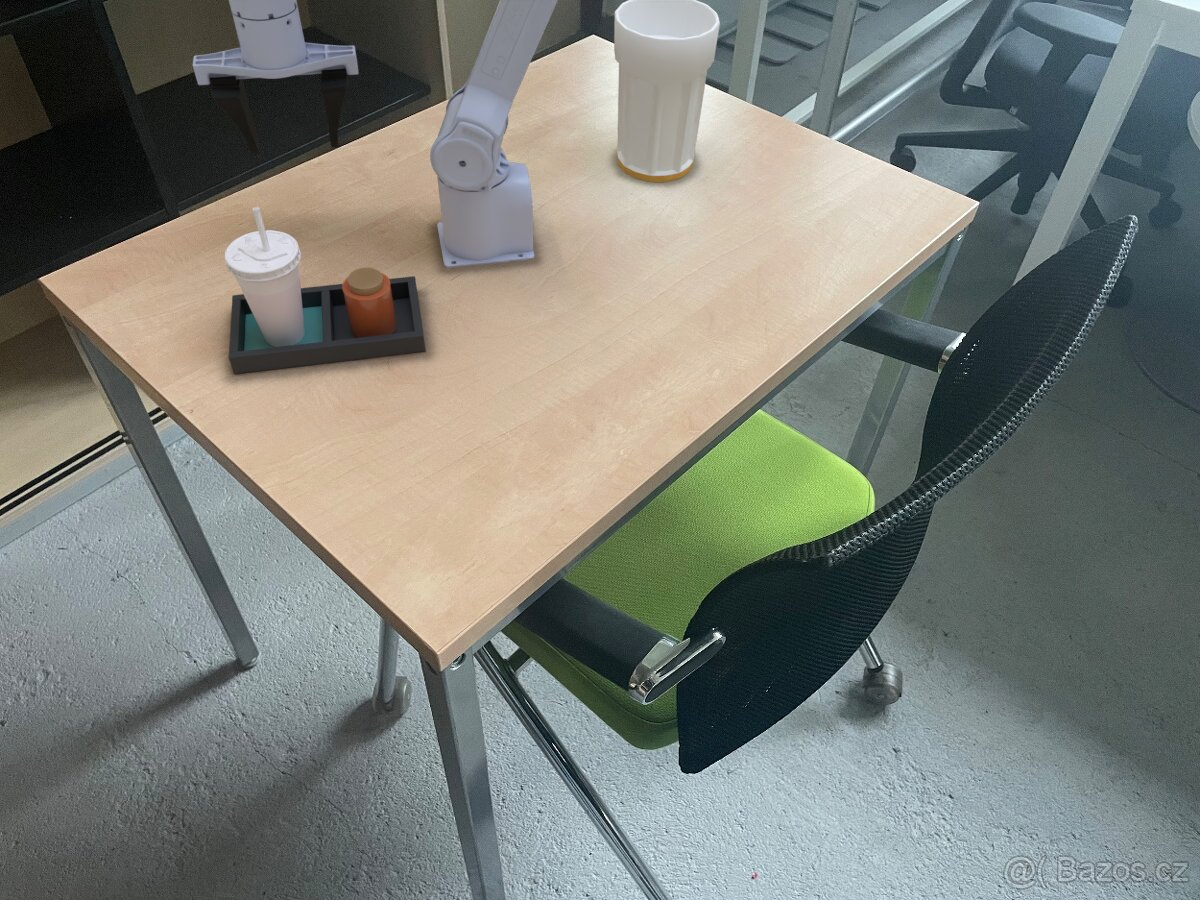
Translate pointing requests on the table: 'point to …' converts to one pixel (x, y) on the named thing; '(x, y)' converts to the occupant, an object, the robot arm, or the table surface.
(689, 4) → the cup
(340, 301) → the holder
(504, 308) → the table surface
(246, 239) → the smoothie
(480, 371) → the table surface
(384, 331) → the spice pot
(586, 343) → the table surface
